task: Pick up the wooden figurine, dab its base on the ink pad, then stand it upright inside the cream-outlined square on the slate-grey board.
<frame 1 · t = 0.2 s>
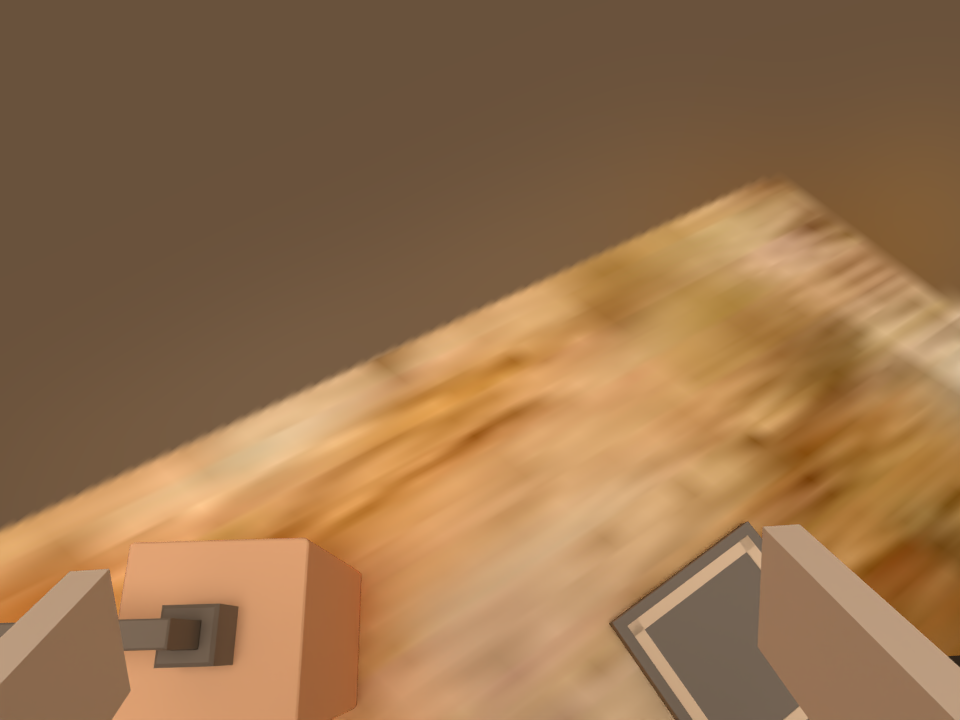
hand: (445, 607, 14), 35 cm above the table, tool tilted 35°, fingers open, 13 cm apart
soap dispenser: (265, 640, 47), on the table
marked board: (735, 650, 46), on the table
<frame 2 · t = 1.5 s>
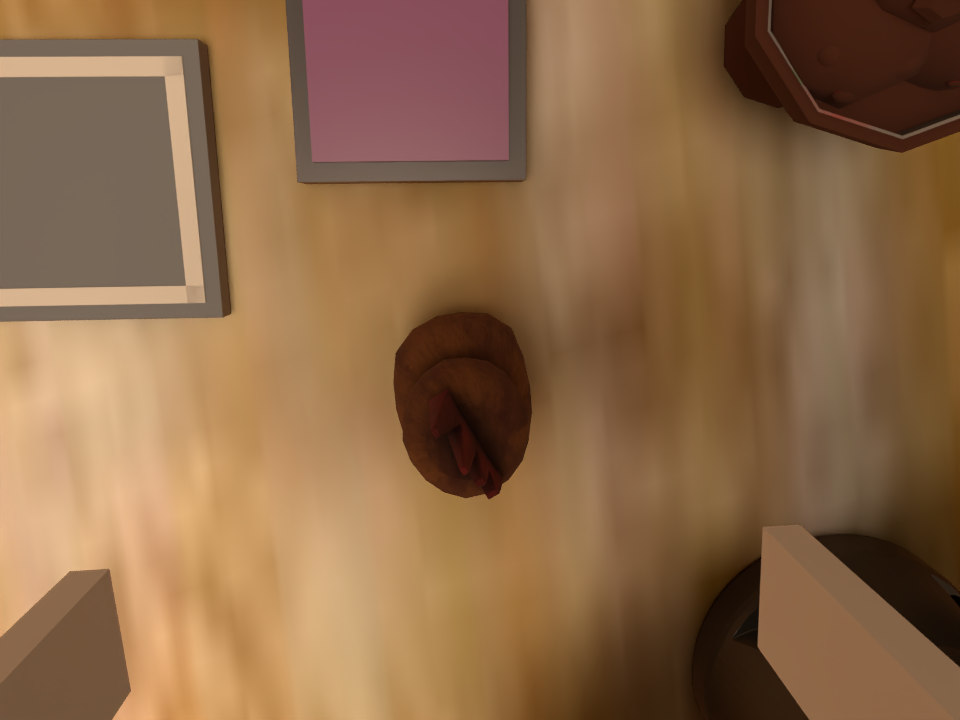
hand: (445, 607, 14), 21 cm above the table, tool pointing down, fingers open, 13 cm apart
ink pad: (411, 68, 31), on the table
wooden figurine: (460, 368, 34), on the table
marked board: (86, 186, 32), on the table
ice cream bowl: (779, 45, 32), on the table
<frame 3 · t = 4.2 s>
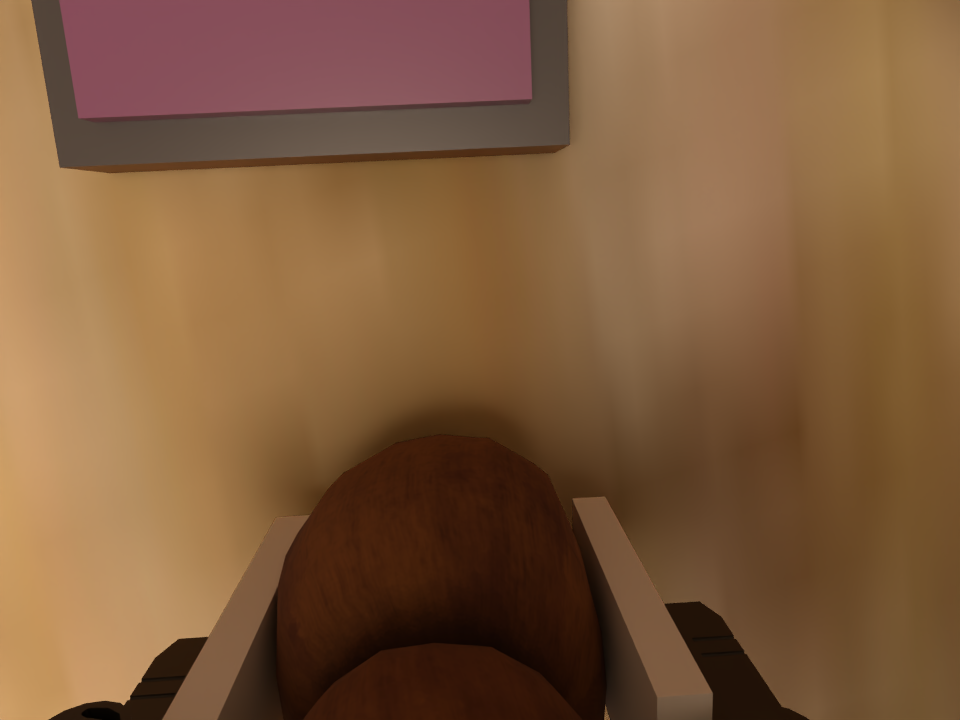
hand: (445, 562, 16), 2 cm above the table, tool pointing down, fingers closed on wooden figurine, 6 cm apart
wooden figurine: (445, 522, 18), on the table, touching gripper
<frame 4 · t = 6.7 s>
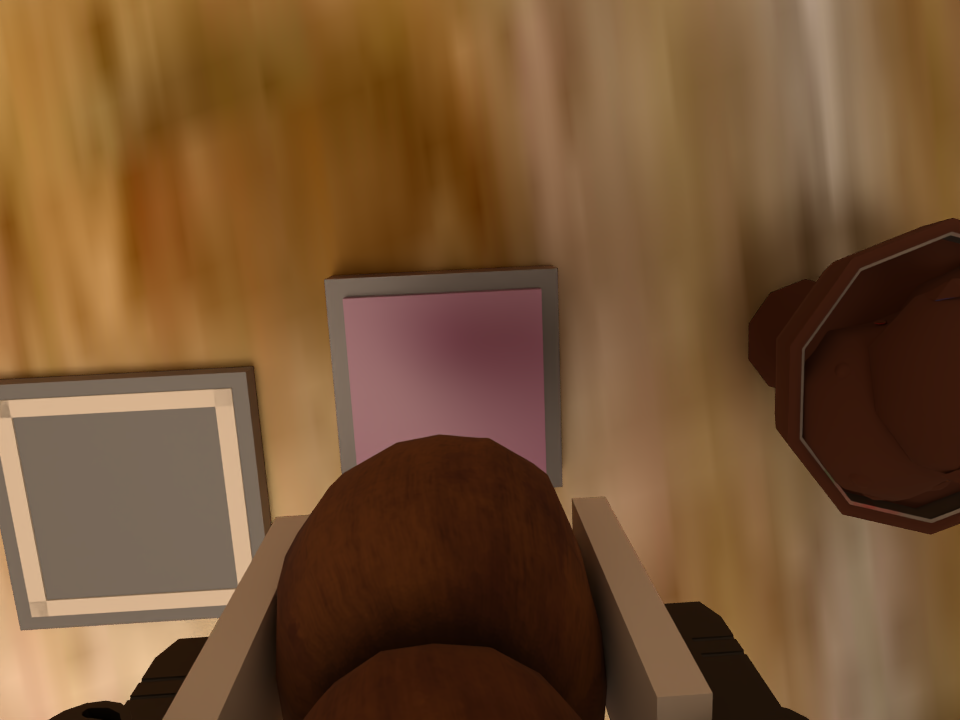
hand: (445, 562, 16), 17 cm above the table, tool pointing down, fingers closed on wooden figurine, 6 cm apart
ink pad: (448, 377, 32), on the table
wooden figurine: (445, 522, 18), point 15 cm above the table, touching gripper
marked board: (141, 495, 33), on the table
ice cream bowl: (801, 336, 33), on the table
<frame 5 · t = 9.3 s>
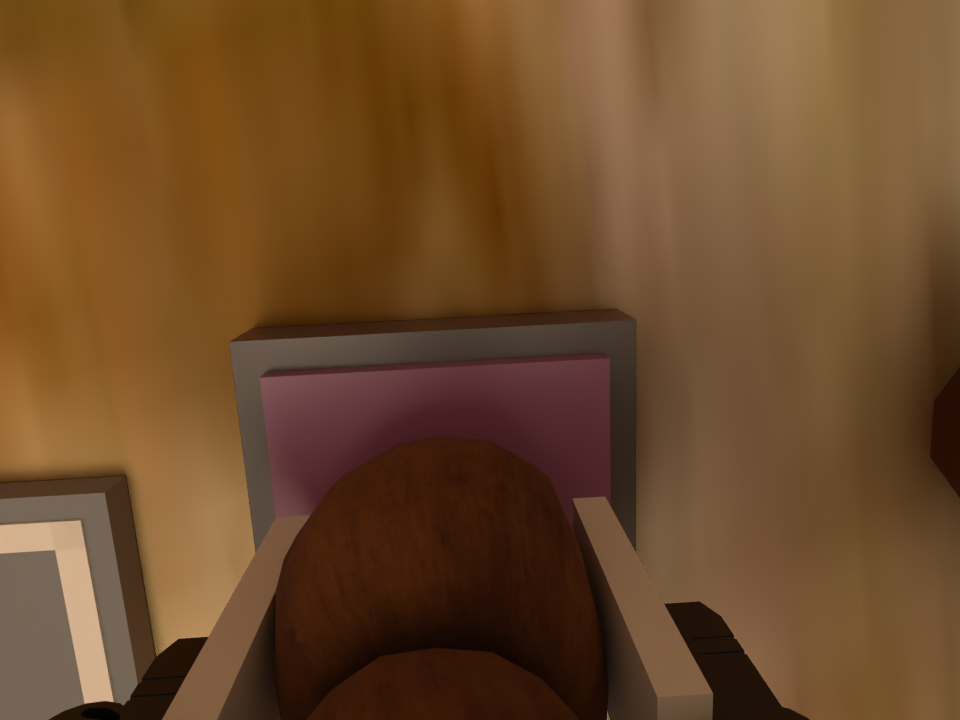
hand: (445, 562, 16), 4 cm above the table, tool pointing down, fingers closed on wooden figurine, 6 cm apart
ink pad: (446, 489, 20), on the table
wooden figurine: (445, 524, 18), point 2 cm above the table, touching gripper, ink pad
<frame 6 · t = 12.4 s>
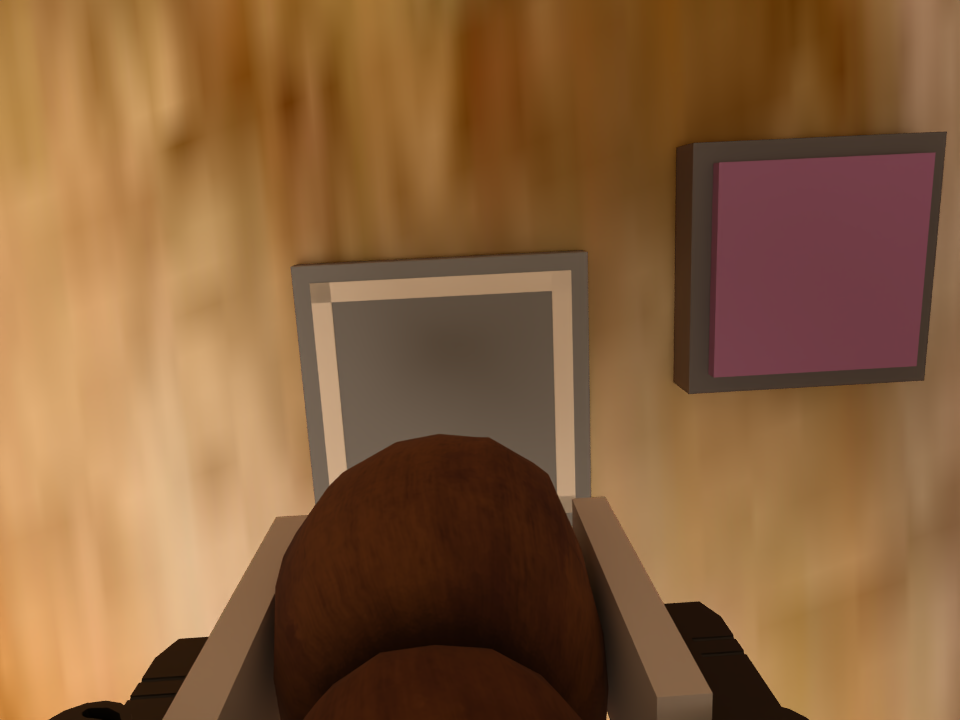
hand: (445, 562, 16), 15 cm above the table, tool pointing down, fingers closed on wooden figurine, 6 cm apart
ink pad: (789, 263, 30), on the table
wooden figurine: (445, 522, 18), point 13 cm above the table, touching gripper
marked board: (448, 395, 30), on the table
when the fingers open (5 cm above the table, at t = 14.8 s): wooden figurine drops 2 cm, resting on marked board.
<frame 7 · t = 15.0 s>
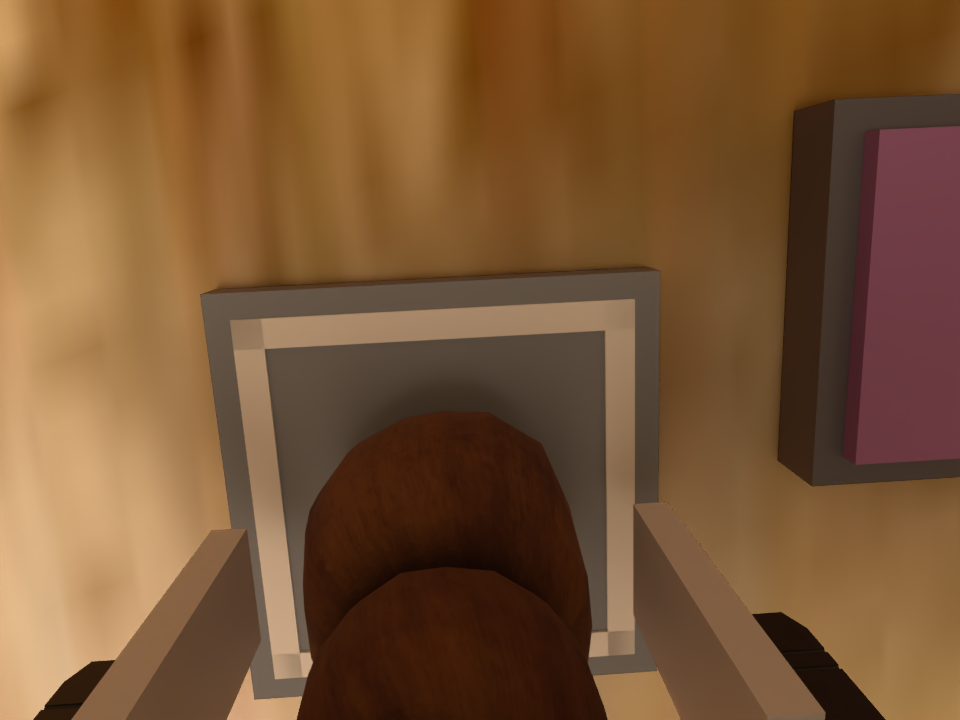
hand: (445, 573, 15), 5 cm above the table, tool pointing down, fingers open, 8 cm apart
ink pad: (956, 286, 20), on the table
wooden figurine: (447, 494, 19), point 1 cm above the table, touching marked board
marked board: (446, 480, 20), on the table
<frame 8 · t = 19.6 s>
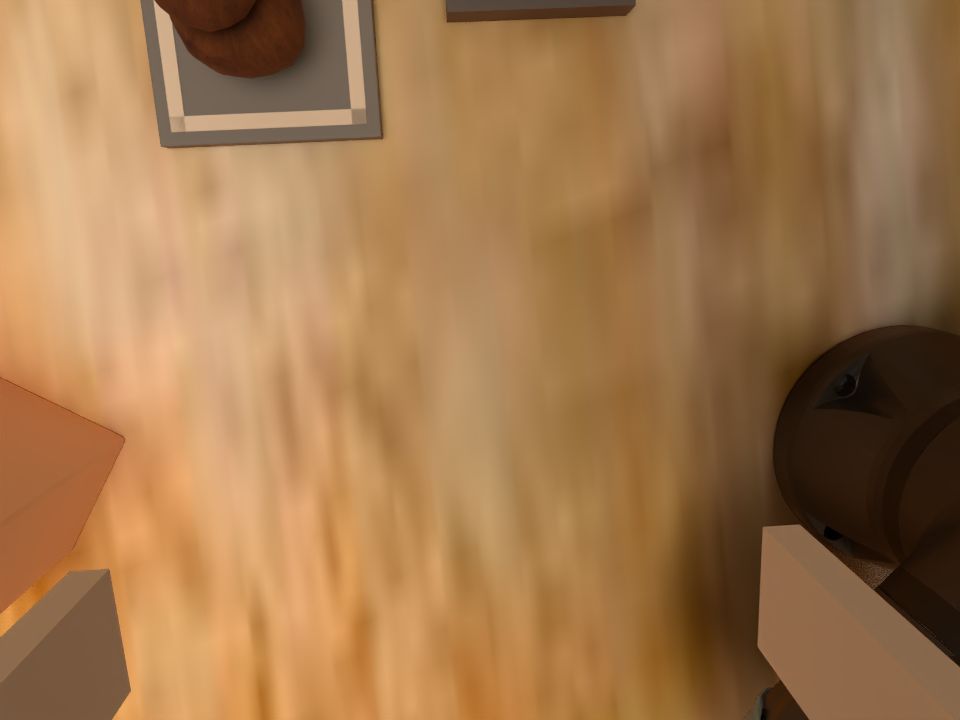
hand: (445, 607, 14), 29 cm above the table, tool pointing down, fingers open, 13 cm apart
soap dispenser: (21, 491, 43), on the table
wooden figurine: (260, 24, 37), point 1 cm above the table, touching marked board
marked board: (264, 29, 38), on the table
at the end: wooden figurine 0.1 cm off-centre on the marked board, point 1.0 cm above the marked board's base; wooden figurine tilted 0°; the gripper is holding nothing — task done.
